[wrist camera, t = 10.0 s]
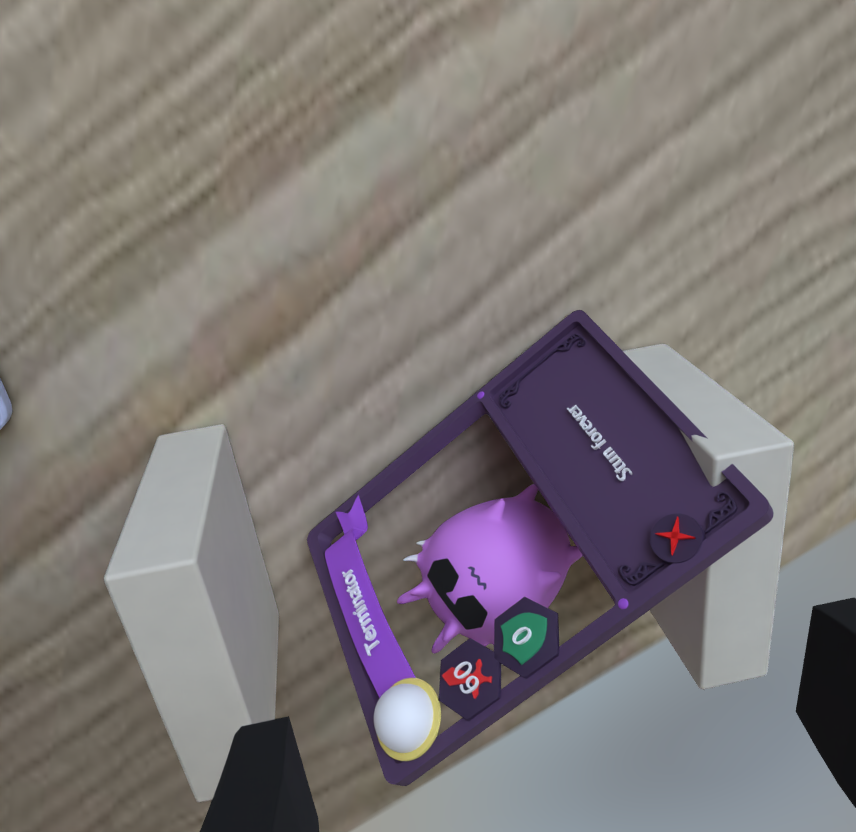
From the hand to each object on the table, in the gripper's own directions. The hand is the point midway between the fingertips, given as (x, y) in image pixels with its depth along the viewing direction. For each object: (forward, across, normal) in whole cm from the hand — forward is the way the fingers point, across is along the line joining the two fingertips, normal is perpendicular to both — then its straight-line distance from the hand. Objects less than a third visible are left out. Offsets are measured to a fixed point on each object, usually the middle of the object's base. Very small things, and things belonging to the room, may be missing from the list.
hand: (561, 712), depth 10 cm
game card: (+10, -1, +2) cm, 10 cm away
